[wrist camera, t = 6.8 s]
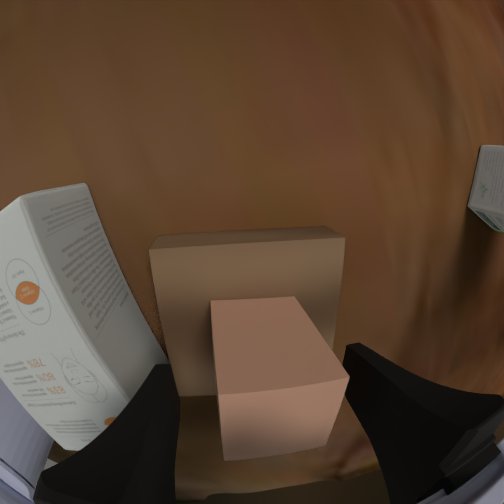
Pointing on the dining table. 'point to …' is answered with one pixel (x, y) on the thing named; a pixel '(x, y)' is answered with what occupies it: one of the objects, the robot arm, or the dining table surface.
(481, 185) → the syrup box
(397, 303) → the dining table surface
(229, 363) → the terracotta block
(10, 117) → the dining table surface
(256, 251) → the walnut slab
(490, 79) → the dining table surface
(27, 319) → the small box
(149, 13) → the dining table surface
